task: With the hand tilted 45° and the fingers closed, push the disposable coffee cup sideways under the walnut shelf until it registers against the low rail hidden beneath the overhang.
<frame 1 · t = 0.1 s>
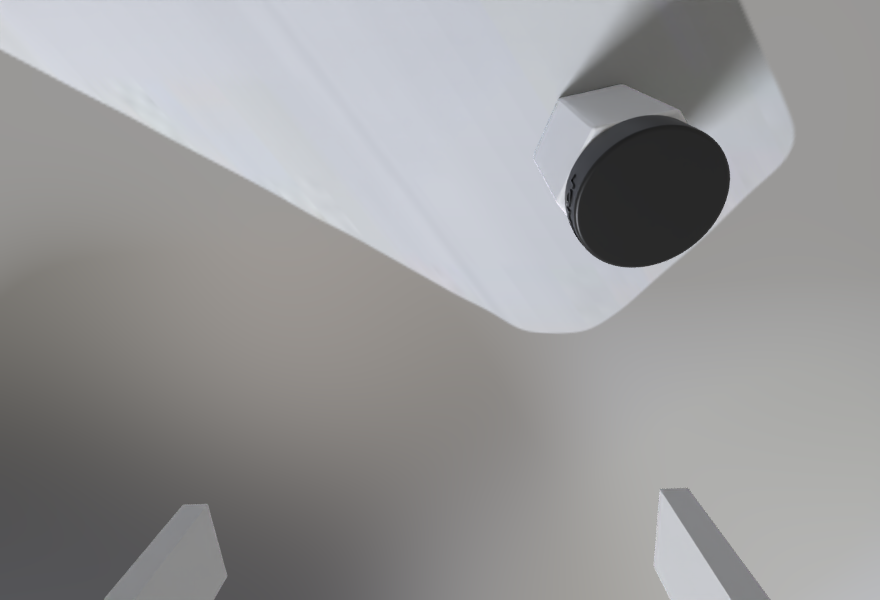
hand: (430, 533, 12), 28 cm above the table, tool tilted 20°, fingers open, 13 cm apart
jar: (590, 144, 33), on the table
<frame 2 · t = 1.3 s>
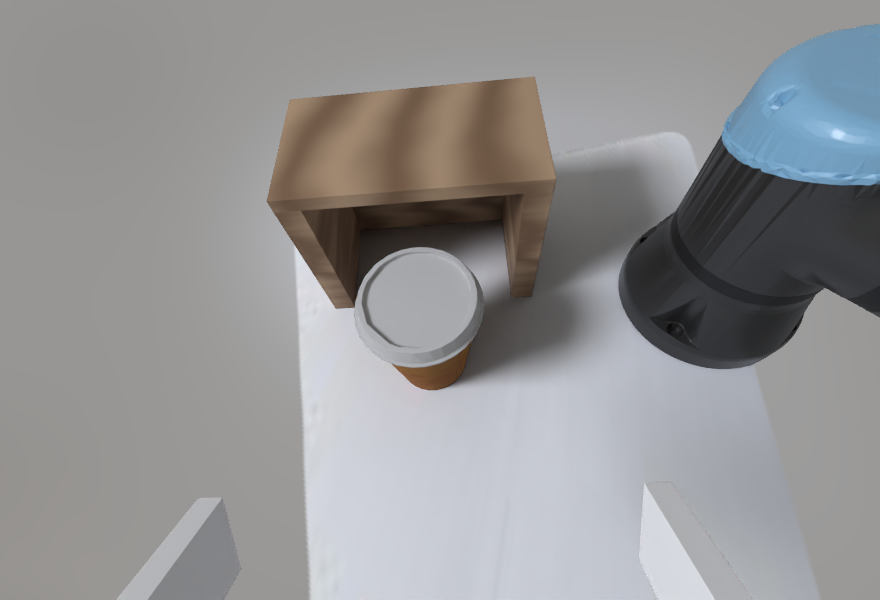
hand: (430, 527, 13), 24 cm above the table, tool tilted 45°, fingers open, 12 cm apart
walnut shelf: (431, 257, 46), on the table
disposable coffee cup: (433, 358, 41), on the table
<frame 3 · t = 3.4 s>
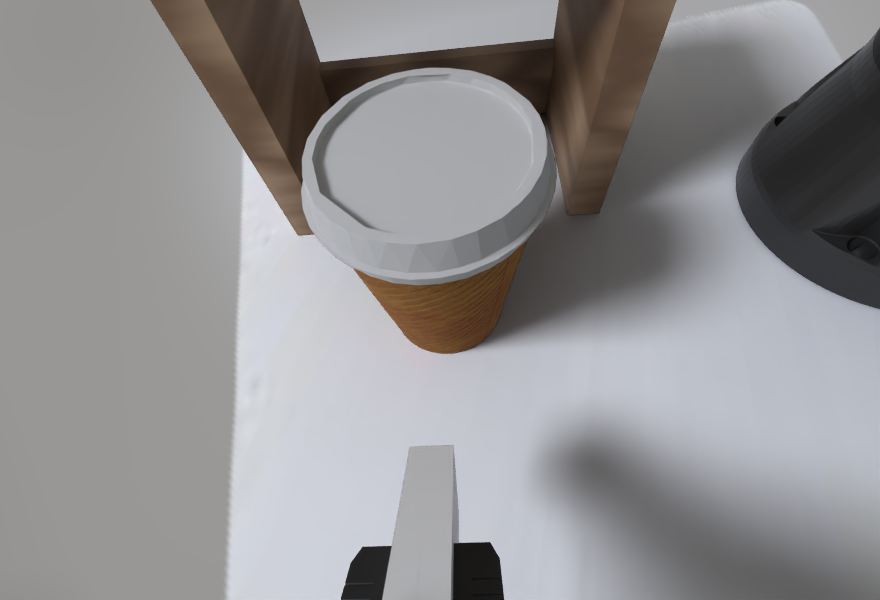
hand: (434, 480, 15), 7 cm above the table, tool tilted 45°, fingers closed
walnut shelf: (442, 164, 31), on the table
disposable coffee cup: (447, 306, 25), on the table
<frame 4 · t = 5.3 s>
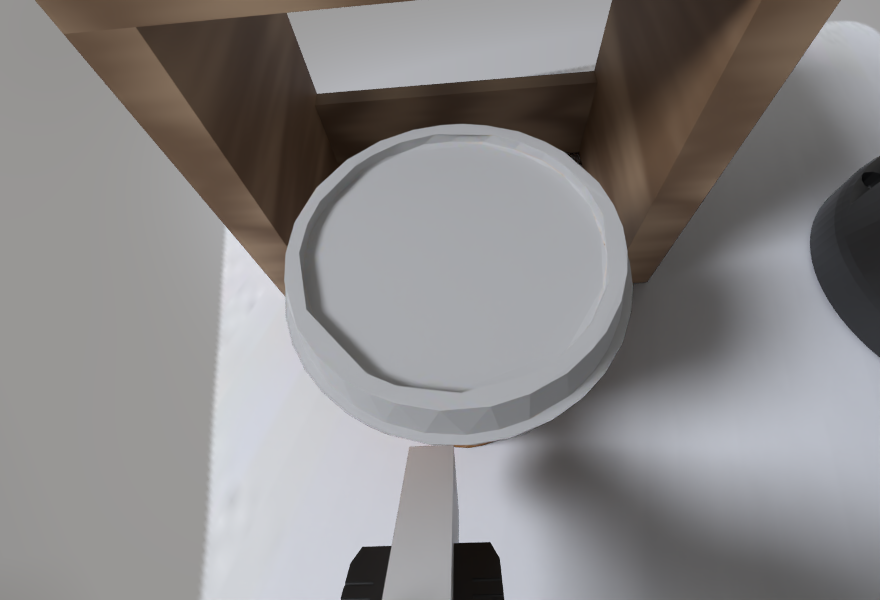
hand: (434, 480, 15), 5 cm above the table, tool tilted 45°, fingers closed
walnut shelf: (459, 213, 26), on the table
disposable coffee cup: (464, 383, 21), on the table, touching gripper
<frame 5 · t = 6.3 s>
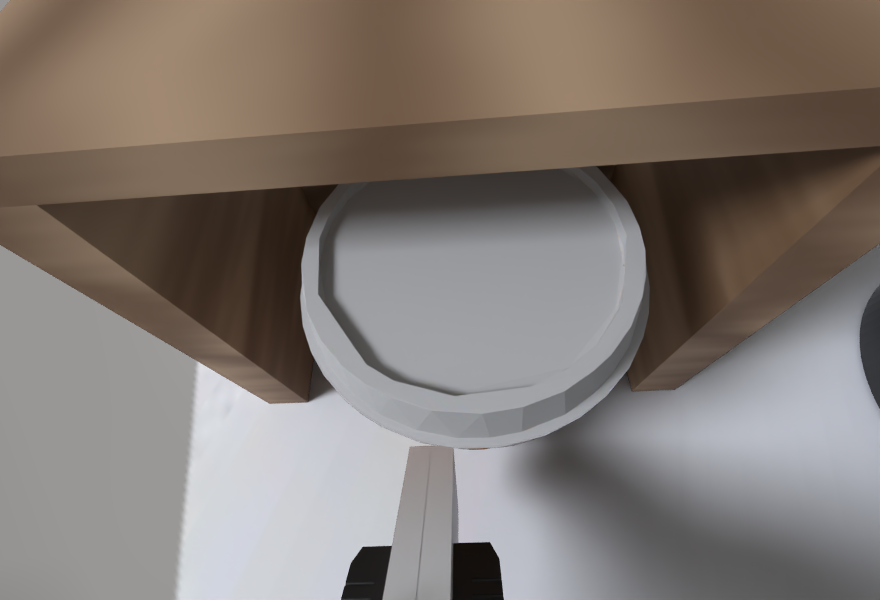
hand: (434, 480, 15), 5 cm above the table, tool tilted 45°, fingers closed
walnut shelf: (461, 298, 24), on the table
disposable coffee cup: (474, 385, 21), on the table, touching gripper
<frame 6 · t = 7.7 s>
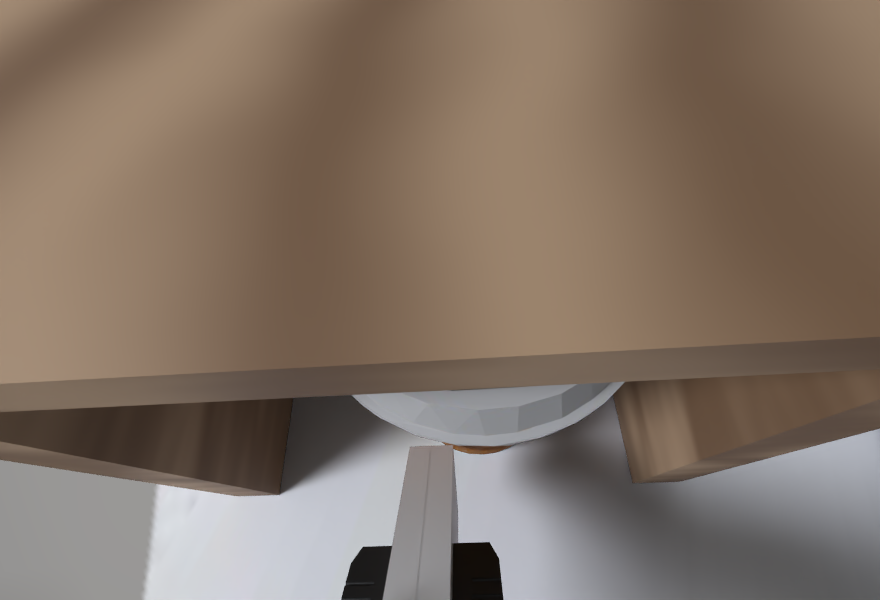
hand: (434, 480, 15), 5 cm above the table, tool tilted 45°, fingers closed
walnut shelf: (447, 372, 22), on the table
disposable coffee cup: (477, 390, 21), on the table, touching gripper
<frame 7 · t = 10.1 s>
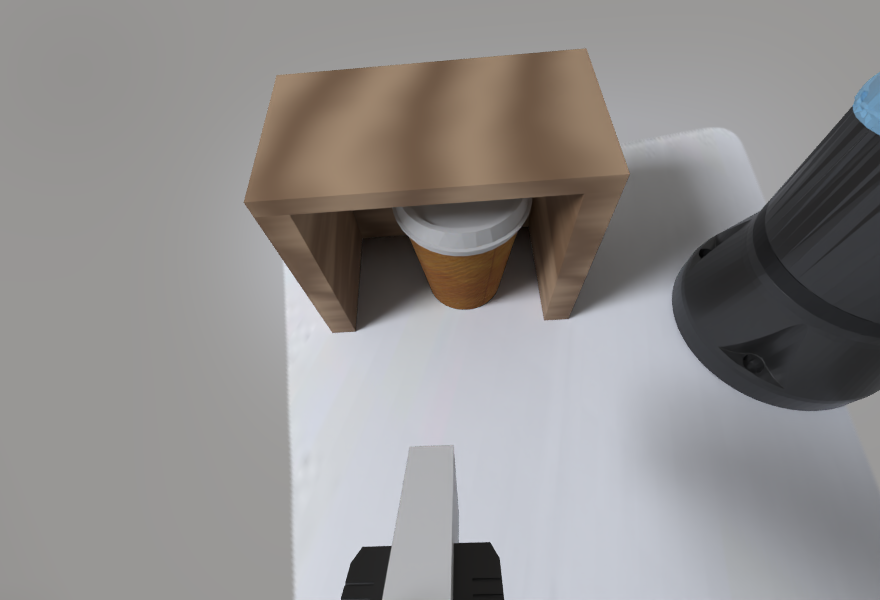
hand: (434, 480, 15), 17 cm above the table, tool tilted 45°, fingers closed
walnut shelf: (446, 271, 39), on the table
disposable coffee cup: (464, 280, 38), on the table
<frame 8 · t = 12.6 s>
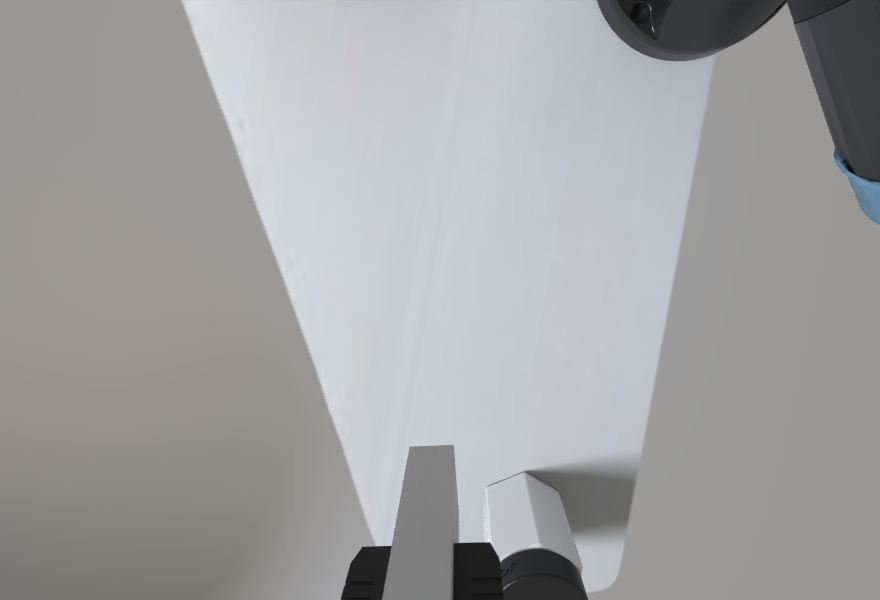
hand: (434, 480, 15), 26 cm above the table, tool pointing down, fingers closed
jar: (519, 504, 47), on the table
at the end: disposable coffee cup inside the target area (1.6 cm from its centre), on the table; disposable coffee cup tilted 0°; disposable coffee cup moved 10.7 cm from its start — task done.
